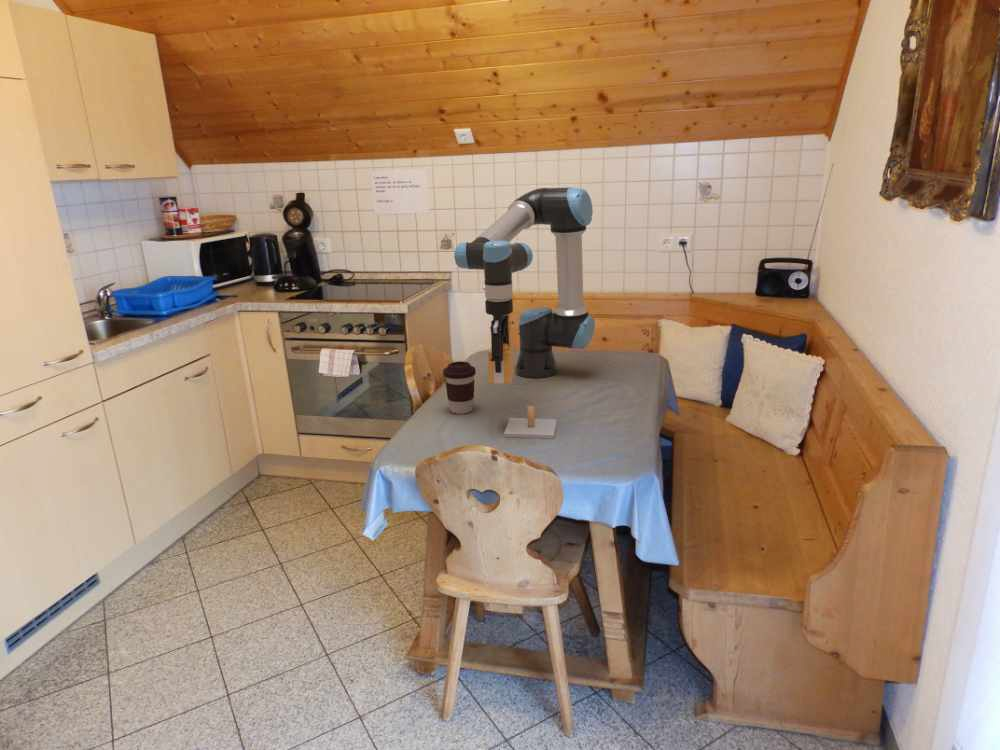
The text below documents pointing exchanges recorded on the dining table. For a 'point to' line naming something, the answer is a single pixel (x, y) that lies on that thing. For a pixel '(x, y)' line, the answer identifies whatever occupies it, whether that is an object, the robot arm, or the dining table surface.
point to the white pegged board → (531, 426)
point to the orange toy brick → (507, 364)
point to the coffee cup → (460, 386)
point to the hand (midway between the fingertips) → (501, 378)
